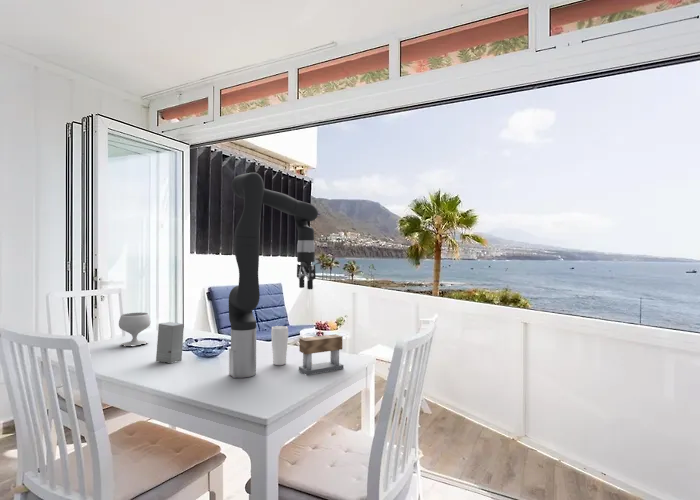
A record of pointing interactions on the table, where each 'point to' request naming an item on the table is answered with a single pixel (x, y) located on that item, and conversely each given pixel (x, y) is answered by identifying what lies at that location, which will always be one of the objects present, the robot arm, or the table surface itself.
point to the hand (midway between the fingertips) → (305, 288)
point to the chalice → (134, 326)
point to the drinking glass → (279, 344)
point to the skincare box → (169, 342)
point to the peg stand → (320, 364)
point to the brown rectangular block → (320, 344)
